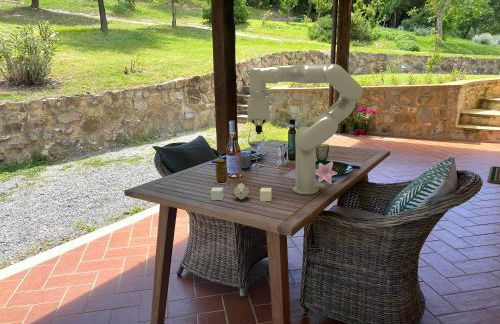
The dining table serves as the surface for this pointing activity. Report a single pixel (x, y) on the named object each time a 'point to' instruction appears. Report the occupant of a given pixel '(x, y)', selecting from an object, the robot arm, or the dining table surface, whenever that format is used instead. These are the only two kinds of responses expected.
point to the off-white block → (265, 194)
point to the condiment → (221, 171)
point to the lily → (325, 172)
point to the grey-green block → (217, 194)
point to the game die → (241, 191)
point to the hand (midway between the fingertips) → (259, 133)
